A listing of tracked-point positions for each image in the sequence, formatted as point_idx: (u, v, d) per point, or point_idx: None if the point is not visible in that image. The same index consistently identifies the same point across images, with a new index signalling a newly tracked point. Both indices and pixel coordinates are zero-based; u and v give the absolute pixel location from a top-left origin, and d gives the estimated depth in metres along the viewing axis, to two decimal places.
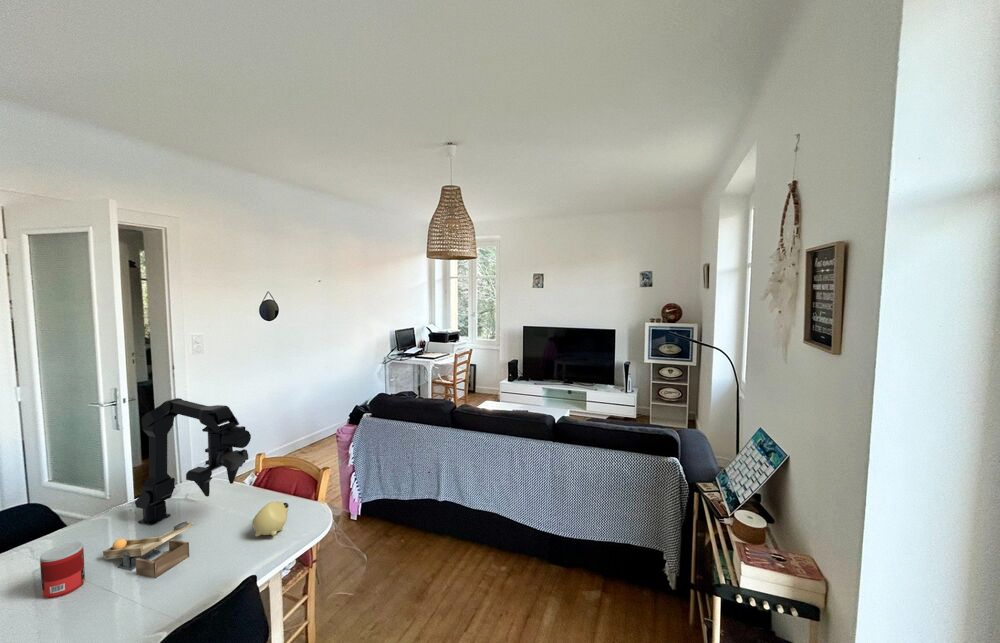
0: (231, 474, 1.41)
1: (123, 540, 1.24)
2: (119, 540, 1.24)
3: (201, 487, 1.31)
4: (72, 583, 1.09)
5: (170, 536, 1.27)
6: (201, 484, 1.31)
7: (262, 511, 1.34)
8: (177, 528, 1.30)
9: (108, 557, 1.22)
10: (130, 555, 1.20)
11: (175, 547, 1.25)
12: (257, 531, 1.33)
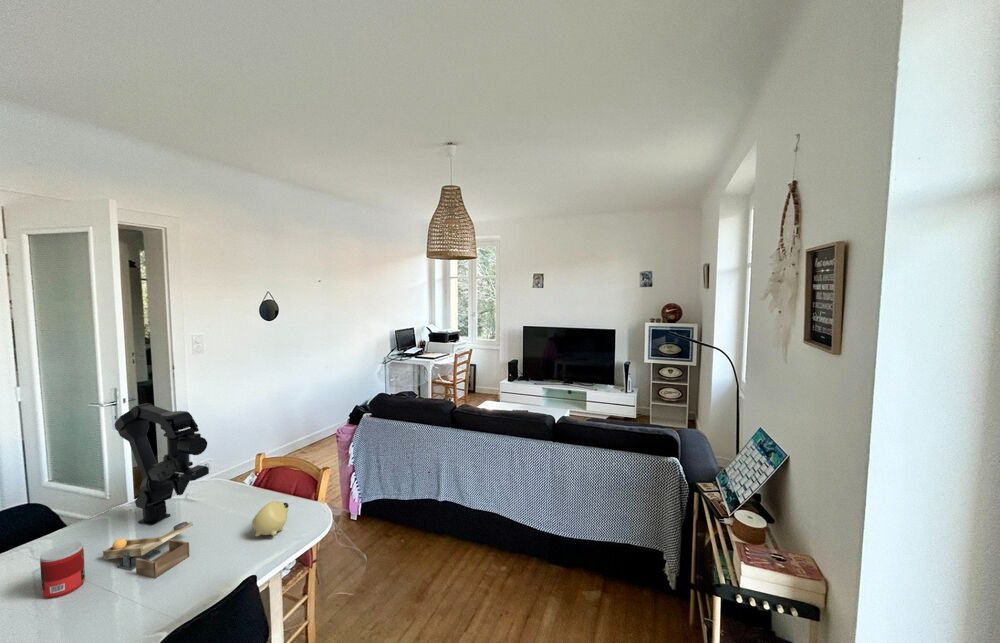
0: None
1: (123, 540, 1.24)
2: (119, 540, 1.24)
3: None
4: (72, 583, 1.09)
5: (170, 536, 1.27)
6: None
7: (262, 511, 1.34)
8: (177, 528, 1.30)
9: (108, 557, 1.22)
10: (130, 555, 1.20)
11: (175, 547, 1.25)
12: (257, 531, 1.33)
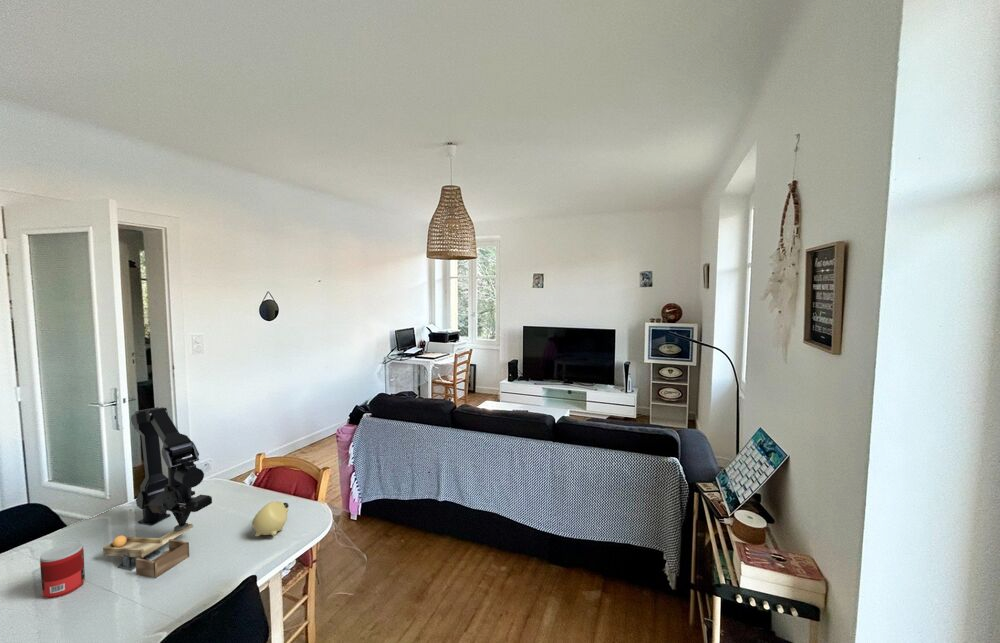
0: None
1: (124, 538, 1.24)
2: (120, 537, 1.24)
3: None
4: (72, 583, 1.09)
5: (170, 538, 1.27)
6: None
7: (262, 511, 1.34)
8: (178, 529, 1.30)
9: (107, 554, 1.21)
10: (130, 555, 1.20)
11: (175, 547, 1.25)
12: (257, 531, 1.33)
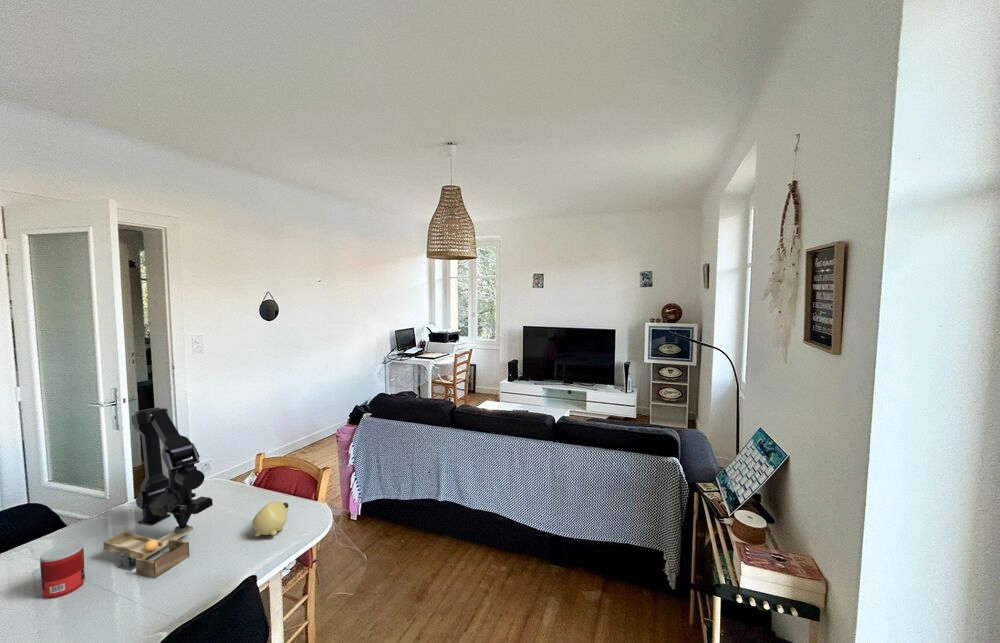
0: None
1: (155, 548, 1.22)
2: (154, 547, 1.21)
3: None
4: (72, 583, 1.09)
5: None
6: None
7: (262, 511, 1.34)
8: (178, 532, 1.30)
9: (107, 549, 1.21)
10: (130, 556, 1.20)
11: (175, 547, 1.25)
12: (257, 531, 1.33)
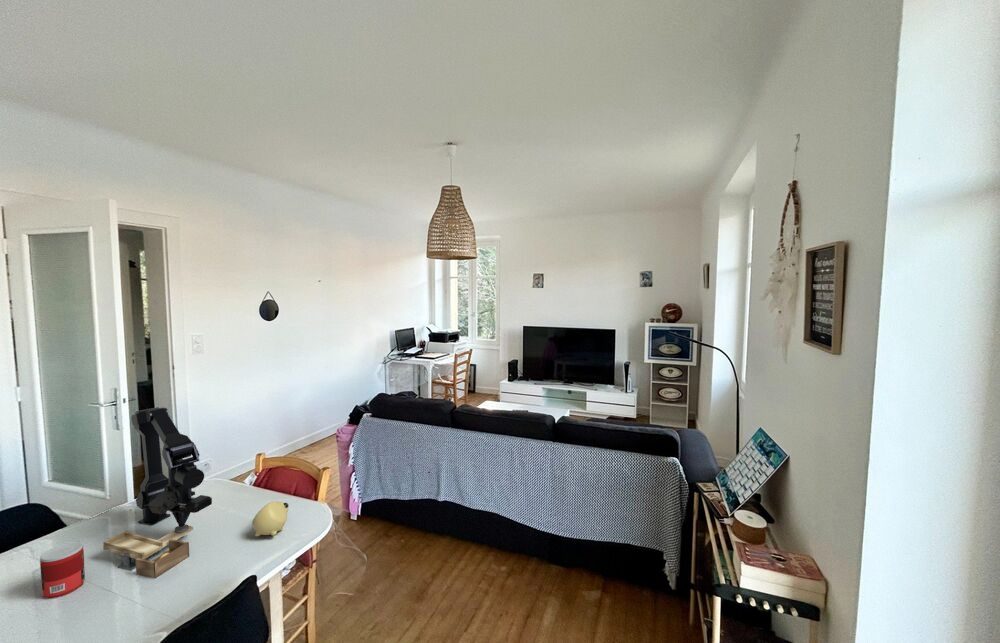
0: None
1: (165, 553, 1.21)
2: (162, 555, 1.20)
3: None
4: (72, 583, 1.09)
5: None
6: None
7: (262, 511, 1.34)
8: (178, 532, 1.30)
9: (107, 549, 1.21)
10: (130, 556, 1.20)
11: (175, 547, 1.25)
12: (257, 531, 1.33)
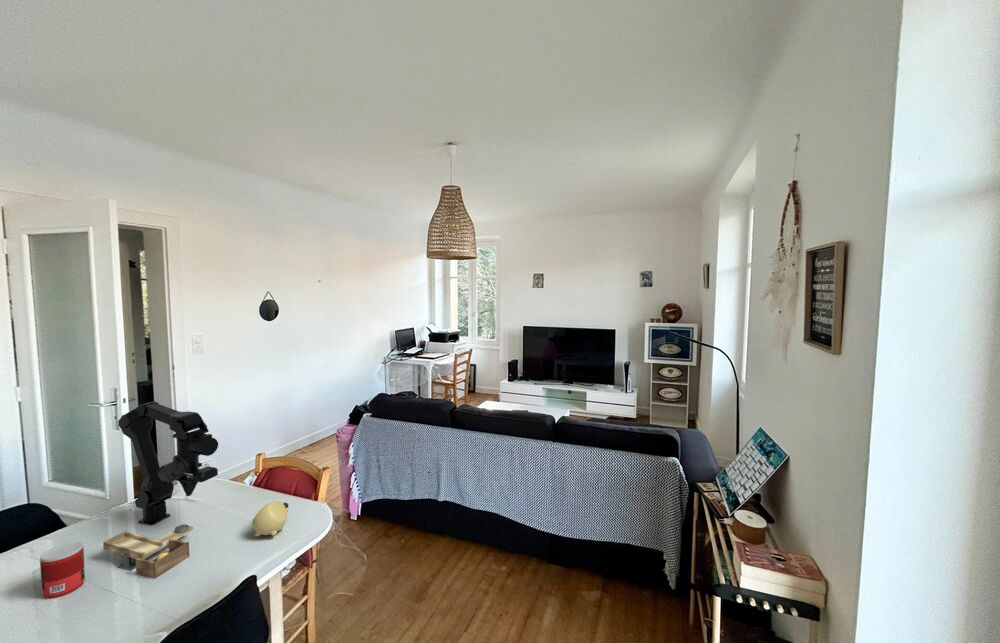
0: None
1: None
2: None
3: None
4: (72, 583, 1.09)
5: None
6: None
7: (262, 511, 1.34)
8: (178, 532, 1.30)
9: (107, 549, 1.21)
10: (130, 556, 1.20)
11: (175, 547, 1.25)
12: (257, 531, 1.33)
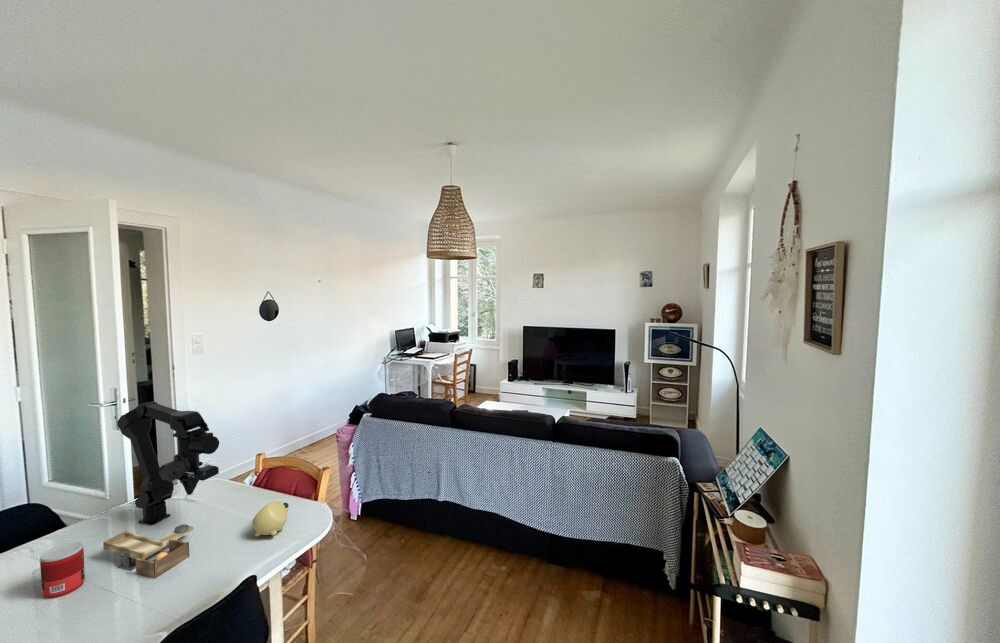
0: None
1: None
2: None
3: None
4: (72, 583, 1.09)
5: None
6: None
7: (262, 511, 1.34)
8: (178, 532, 1.30)
9: (107, 549, 1.21)
10: (130, 556, 1.20)
11: (175, 547, 1.25)
12: (257, 531, 1.33)
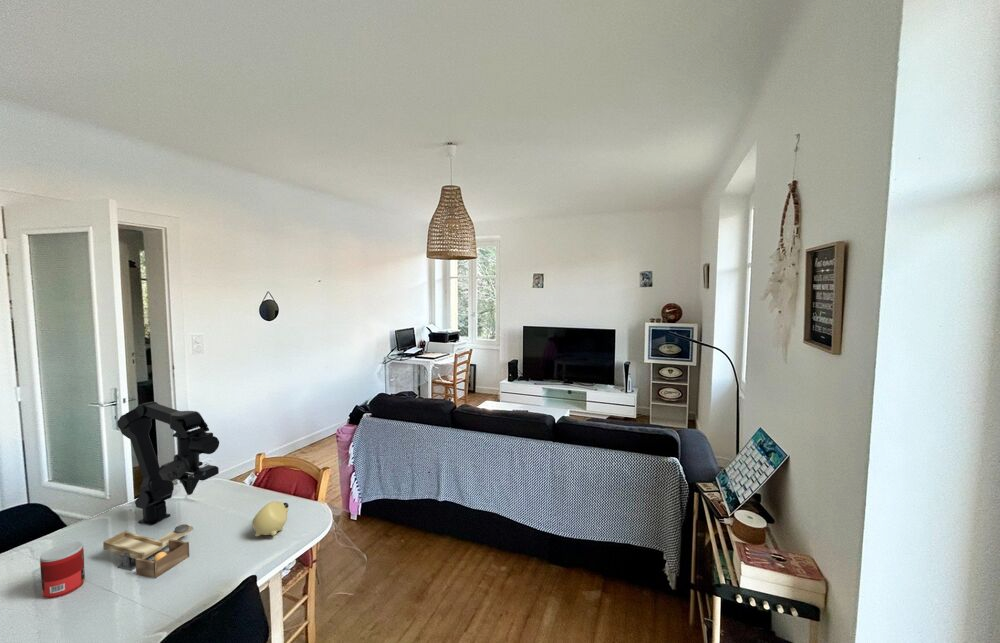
0: None
1: None
2: None
3: None
4: (72, 583, 1.09)
5: None
6: None
7: (262, 511, 1.34)
8: (178, 532, 1.30)
9: (107, 549, 1.21)
10: (130, 556, 1.20)
11: (175, 547, 1.25)
12: (257, 531, 1.33)
